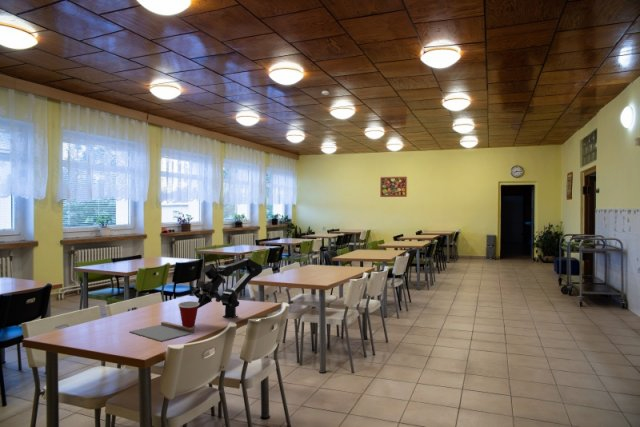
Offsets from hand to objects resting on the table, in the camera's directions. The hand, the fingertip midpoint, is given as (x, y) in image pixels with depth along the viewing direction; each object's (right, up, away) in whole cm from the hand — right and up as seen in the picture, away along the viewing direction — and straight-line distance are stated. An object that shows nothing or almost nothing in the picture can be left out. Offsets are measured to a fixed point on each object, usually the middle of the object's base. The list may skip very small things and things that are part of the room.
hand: (197, 307), depth 233 cm
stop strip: (-7, -9, -10) cm, 15 cm away
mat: (-13, -9, -18) cm, 24 cm away
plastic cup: (-3, -9, -5) cm, 11 cm away
